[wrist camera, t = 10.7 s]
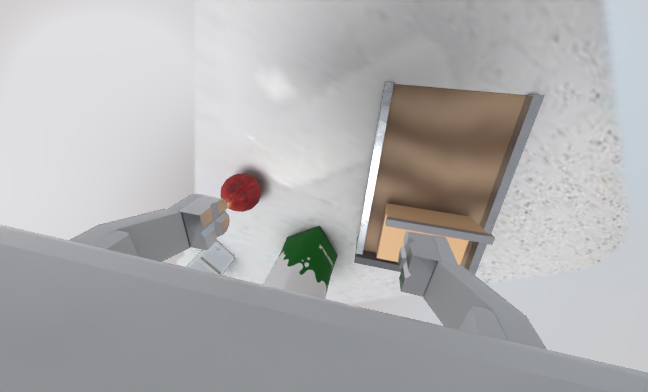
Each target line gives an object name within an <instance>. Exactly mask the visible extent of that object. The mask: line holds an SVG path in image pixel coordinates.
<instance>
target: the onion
mask: <svg viewBox="0 0 648 392" xmlns="http://www.w3.org/2000/svg"><path fill="white" fill-rule="evenodd" d="M260 196H261V188H260V186H259V183H258V182H257V181H256V180H255V178H254V177H252V176H250V175H247V174H236V175H234V176H232V177H230V178H228V179H227V180H226V181H225V183H224V184H223V186H222V188H221V199H224V200H226V202H227V207H228V208H229V209H231V210H233V211H241V212H243V211H247V210H250V209H252V208H253V207H254V206H255V205H256V204H257V203H258V202H259V199H260Z"/></svg>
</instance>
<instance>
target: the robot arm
mask: <svg viewBox="0 0 648 392" xmlns="http://www.w3.org/2000/svg"><path fill="white" fill-rule="evenodd" d="M227 208H228V207H227V202H226V200H224V199H221V198H216V197H211V196H206V195H201V194H191V195H190V196H188V197H186V198H185V199H183V200H181V201H180V202H178V203H177V204H175V205H173V206H172V207H170V208H168V209H161V210H157V211H153V212H149V213H145V214H141V215H137V216H133V217H129V218H125V219H121V220H117V221H113V222H109V223H104V224H100V225H97V226H95V227H93V228H91V229H90V230H88V231H86V232H84V233H82V234H80V235H78V236H76V237H74V238H72V239H71V240H64V239H60V238H56V237H51V236H47V235H42V234H38V233H33V232H29V231H25V230H21V229H16V228H12V227H7V226H3V225H0V392H648V373H646V372H642V371H638V370H634V369H629V368H624V367H620V366H616V365H611V364H607V363H603V362H598V361H594V360H590V359H585V358H581V357H576V356H572V355H568V354H563V353H559V352H554V351H550V350H547V349H546V347H545V346H544V344H543V342H542V341H541V339H540V338H539V336H538V334H537V333H536V331H535V329H534V328H533V326H532V325H531V323H530V321H529V320H528V319H527V317H526V316H525V315H524V314H523V313H522V312H520V311H519V310H518V309H517V308H515V307H514V306H513V305H511V304H510V303H509V302H507V301H506V300H505V299H504V298H503V297H501V296H500V295H499V294H497V293H496V292H495V291H494V290H493V289H491V288H490V287H489V286H488V285H486V284H485V283H484V282H482V281H481V280H480V279H479V278H477V277H476V276H475V275H474V274H472V273H471V272H470V271H469V270H467V269H466V268H465V267H464V266H462V265H458V263H457V261H456V259H455V256H454V254H453V252H452V250H451V247H450V245H449V243H448V240H447V238H445V237H442V236H435V235H427V234H421V233H414V232H408V231H406V233H405V235H404V238H403V242H404V246H402V247H401V248H400V252H399V258H398V270H399V271H400V272H401V274H400V278H399V279H400V288H401V291H402V292H406V293H410V294H414V295H418V296H423V297H424V299H425V301H426V302H427V303H428V305H429V306H430V307H431V309H432V310H433V311H434V313H435V314H436V315H437V317H438V318H439V320H440V321H441V322H442V324H443V325H444V326H441V325H436V324H432V323H428V322H423V321H419V320H415V319H410V318H406V317H401V316H397V315H392V314H388V313H383V312H379V311H375V310H370V309H366V308H362V307H357V306H353V305H349V304H344V303H340V302H336V301H331V300H327V299H322V298H318V297H314V296H309V295H305V294H301V293H296V292H292V291H288V290H283V289H279V288H274V287H270V286H266V285H261V284H257V283H252V282H248V281H244V280H239V279H235V278H230V277H226V276H222V275H217V274H213V273H208V272H204V271H200V270H195V269H191V268H187V267H182V266H178V265H173V264H169V263H165V262H162V261H164V260H166V259H168V258H170V257H172V256H174V255H176V254H178V253H180V252H182V251H184V250H186V249H188V248H190V247H193V248H199V249H204V250H208V249H209V248H210V247H211V246H212V245H213V244H214V243H215V242H216V241H217V237H218V236H221V235H223V234H224V233H225V232H226V230H227V228H228V226H229V215H228V214H227V213H226V209H227Z"/></svg>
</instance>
